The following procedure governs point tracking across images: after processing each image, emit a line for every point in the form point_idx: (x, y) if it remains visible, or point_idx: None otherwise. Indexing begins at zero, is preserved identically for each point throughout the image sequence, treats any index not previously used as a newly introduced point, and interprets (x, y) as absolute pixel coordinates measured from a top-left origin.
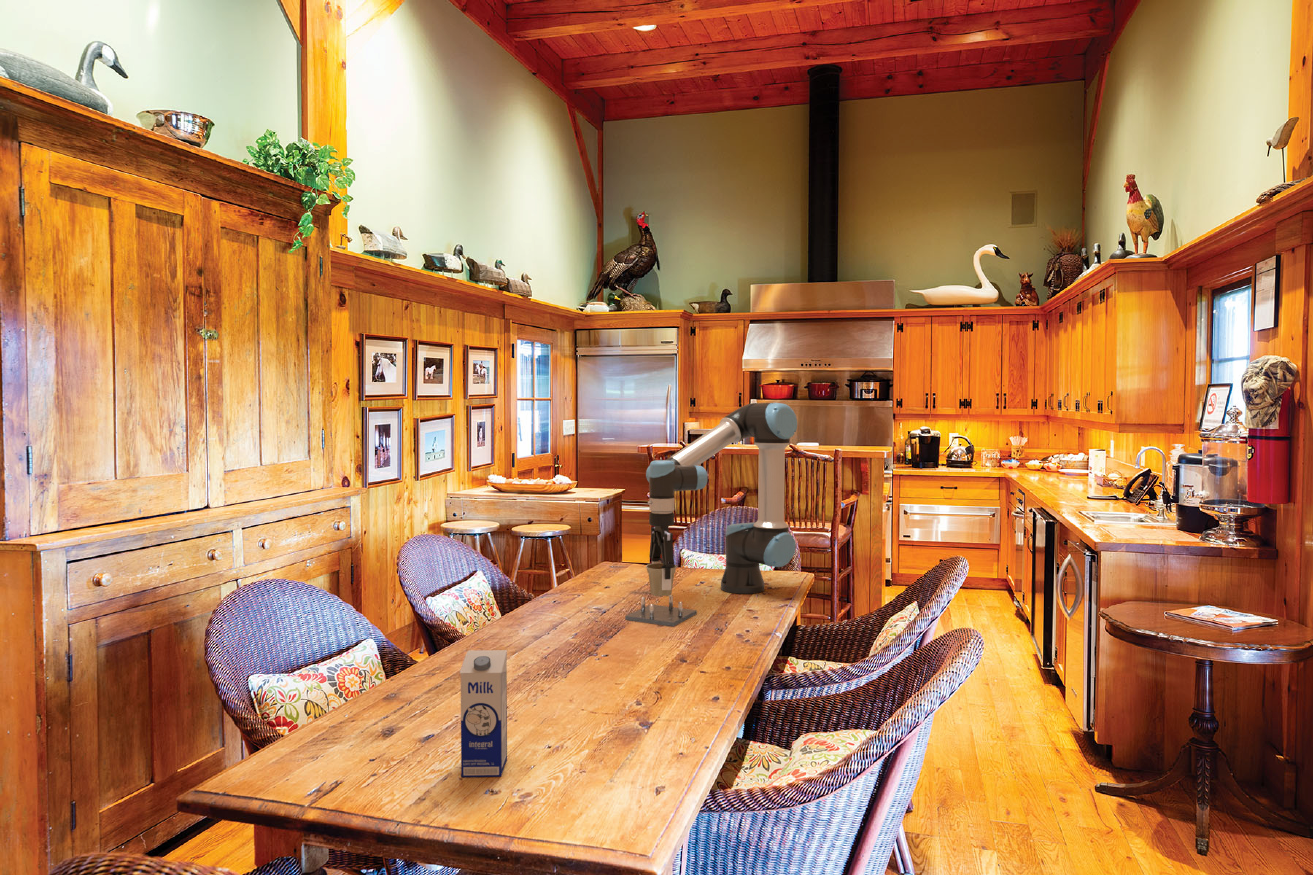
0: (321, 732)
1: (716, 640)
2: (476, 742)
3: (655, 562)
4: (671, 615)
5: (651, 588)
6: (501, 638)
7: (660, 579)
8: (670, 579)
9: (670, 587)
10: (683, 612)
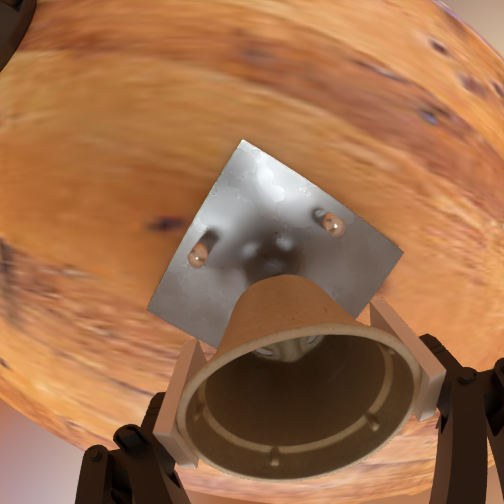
0: (493, 461)
1: (500, 157)
2: None
3: (190, 455)
4: (316, 250)
5: (306, 379)
6: (361, 488)
7: (368, 378)
8: (408, 329)
9: (387, 306)
10: (276, 198)
